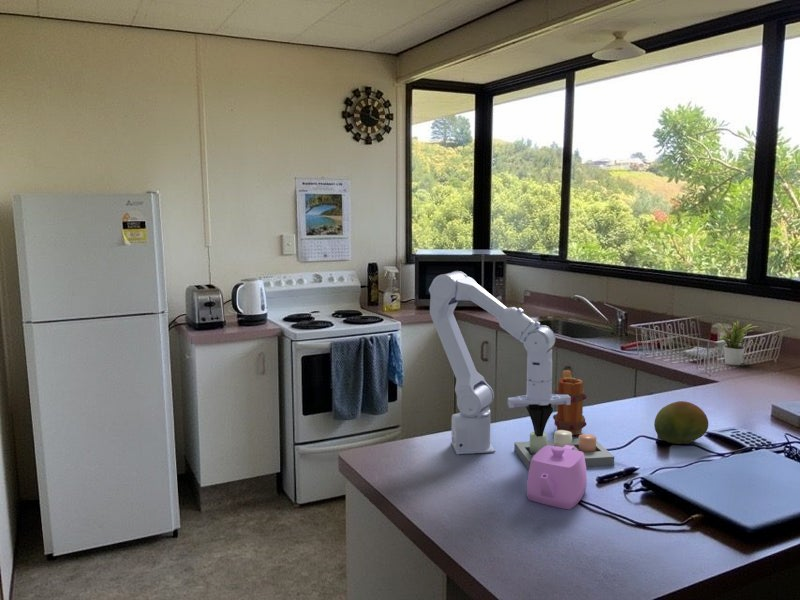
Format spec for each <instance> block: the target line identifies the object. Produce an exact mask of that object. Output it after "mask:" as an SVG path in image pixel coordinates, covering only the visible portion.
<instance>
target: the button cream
mask: <svg viewBox="0 0 800 600" xmlns="http://www.w3.org/2000/svg"><path fill="white" fill-rule="evenodd" d="M553 433H554V434H553V435H554V436H553V437H554V439H553V440H554V446H558V447H562V448H563V447H564V446H566V445H569V446H572V439H573V436H572V433H571V432H569V431H566V430H558V431H557V430H555V431H554V432H553Z"/></svg>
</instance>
